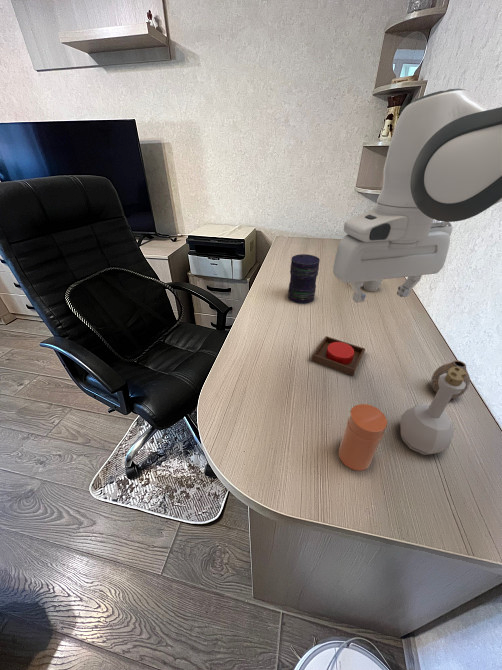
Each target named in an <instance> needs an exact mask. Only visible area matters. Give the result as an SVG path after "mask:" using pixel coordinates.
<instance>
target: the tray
mask: <svg viewBox="0 0 502 670" xmlns="http://www.w3.org/2000/svg"><path fill="white" fill-rule="evenodd" d="M333 342H342V343H346V344H348V345H350V346H351V347H352V348H353V349H354V356H353V360H352V362H351V363H349V364H347V365H344V364H341V363H338V362H335V361H332V360H330V359H327V357H326V351H327V348H328V345H329V344H331V343H333ZM365 352H366V348H364V347H361V346H359V345H355V344H352V343H349V342H346V341H343V340H339V339H336V338H334V337H330V336H327V335H326V336H324V338H323V339H322V341H321V342H320V343H319V344H318V346H317V348H316V349H315V350H314V352H313V354H312V355H311V362H314V363H316V364H319V365H322V366H324V367H327V368H330V369H333V370H335V371H338V372H341V373H344V374H346V375H349V376H351V377H354V376H355V373H356V372H357V369H358V367H359V366H360V363H361V361H362V359H363V357H364V355H365Z"/></svg>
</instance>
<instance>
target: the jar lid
mask: <svg viewBox="0 0 502 670" xmlns="http://www.w3.org/2000/svg"><path fill="white" fill-rule="evenodd" d="M346 343H347V342H346ZM346 343H342V342H333V343H331V344H329V345H328V348H327V351H326V357H327V359H330V360H332V361H335V362H338V363H341V364H344V365H347V364H349V363H351V362H352V360H353V356H354V349H353V348H352V347H351V346H350V345H348V344H346Z"/></svg>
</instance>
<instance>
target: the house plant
mask: <svg viewBox="0 0 502 670" xmlns="http://www.w3.org/2000/svg"><path fill="white" fill-rule="evenodd" d="M383 281H384V279H382V280H373V281H364V284H363V289H364V290H365V291H368V292H377V291H378V290H379V288H380V286H381V284H382V282H383Z"/></svg>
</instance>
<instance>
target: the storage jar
mask: <svg viewBox="0 0 502 670" xmlns="http://www.w3.org/2000/svg"><path fill="white" fill-rule="evenodd" d="M290 259H291V262H290V266H289V267H290V270H289V273H290V278H289V283H288V295H287V298H288V300H289V301H290V302H292V303H293V304H294V303H295V304H298V305H306V304H311V303H312V302H314V300H315V295H316V291H317V290H316V289H317V277H318V275H319V270H320V261H321V260H320V258H319V257H318V256H316V255H312V254H306V253H305V254H304V253H301V254H295V255H292V257H291V258H290Z"/></svg>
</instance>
